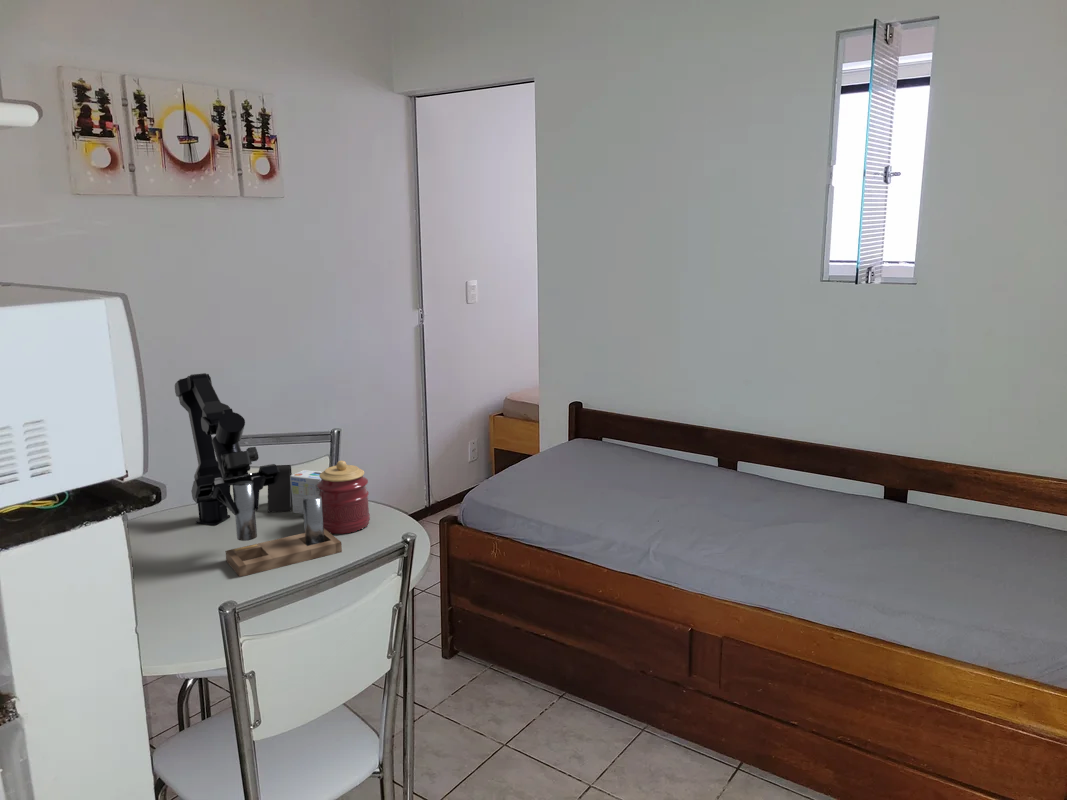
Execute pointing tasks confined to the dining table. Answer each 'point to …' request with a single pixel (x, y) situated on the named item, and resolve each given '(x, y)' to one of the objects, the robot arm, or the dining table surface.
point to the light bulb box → (303, 487)
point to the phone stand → (281, 491)
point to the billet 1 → (245, 510)
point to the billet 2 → (313, 519)
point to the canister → (344, 498)
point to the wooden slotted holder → (279, 553)
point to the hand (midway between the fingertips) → (246, 512)
